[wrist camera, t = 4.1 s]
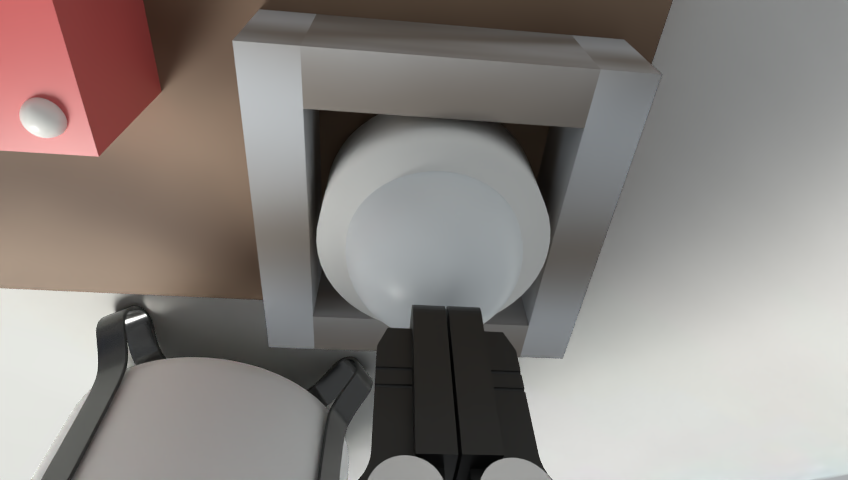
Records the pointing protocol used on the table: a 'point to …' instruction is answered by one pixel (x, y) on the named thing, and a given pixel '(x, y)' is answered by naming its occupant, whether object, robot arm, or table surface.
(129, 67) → the die
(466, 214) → the dome
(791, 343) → the table surface
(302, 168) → the board
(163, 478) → the coffee press
